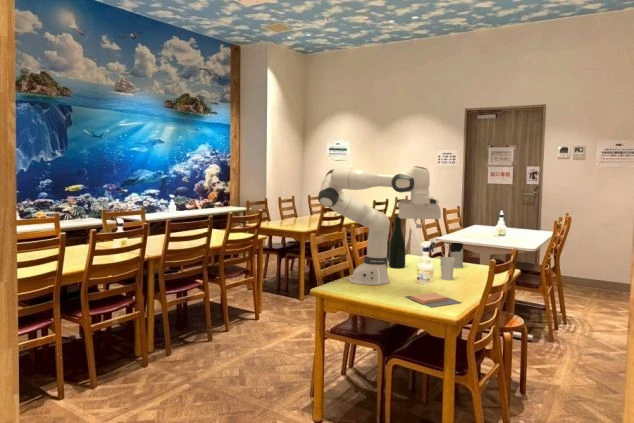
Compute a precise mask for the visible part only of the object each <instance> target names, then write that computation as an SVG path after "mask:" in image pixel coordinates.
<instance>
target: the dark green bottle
mask: <svg viewBox="0 0 634 423" xmlns="http://www.w3.org/2000/svg"><path fill="white" fill-rule="evenodd" d="M398 215H399V214H395V217H394V219H393V220H394V226H393V232H392V234H391V236H390V239H389V243H388V244H389V245H388V246H389V247H388V248H389V249H388V267H389V268H391V269H404V268H405V267H406V239H405V237H404V236H405V235H404V233H403V228H402V220H403V219H401V218H399V216H398Z"/></svg>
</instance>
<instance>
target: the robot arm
mask: <svg viewBox="0 0 634 423" xmlns="http://www.w3.org/2000/svg"><path fill="white" fill-rule="evenodd" d="M430 181H431V180H430V171H429V169H428V168H426V167H423V166H418V165H415V166H412V167H411V168H410V169H408V170H406V171H403V172H399V173H397V174H381V173H375V172H372V171H369V170H365V169H362V168H355V167H341V168H335V169H330V170H329V171H328V172H327V173H326V174H325V177H324V179H323V181H322V183H321V186H320V190H319V192H318V196H317V200H318V202H319V204H320V205H321V206H323V207H325V208H330V209H331V210H333V211H334V212H335V213H337V214H339V215H341V216H342V217H344V218H346V219H348V220H351V221H352V222H355V223H357V224H359V225H361V226H364V227H366V228H368V235H367V243H366V255H363V256H362V263H361V264H359V265H358V266H357V267H355V268H354V269H353V272H352V276H350V277H349V278H348V282H349V283H350V284H354V285H355V284H357V285H368V286H380V285H381V286H382V285H385V284H388V283H390V278H389V273H388V267H389V256H388V240H389V234H390V226H391V220H390V218H389V216H388V215H387V214H385V213H384V212H381V211H379V210H378V209H376V208H373V207H371V206H369V205H367V204H366V203H363V202H361V201H360V200H358V199H355V198H354V197H351V196H349V195H347V194H345V193H344V192H343V190H350V191H358V190H359V191H361V190H366V189H371V188H375V187H381V188H382V187H385V188H392V189H393V191H395V192H398V193H401V194H403V193H410V199H400V200H399V201H398V203H397V207H398V214H397V215H398V216H399V218H401V219H402V220H403V219H406V220H407V219H409V220H410V219H411V220H412V219H413V222H414V223H415V229H423V225H424V224H425V222H426V221H425V220H440V219H441V217H442V213H441V206H440V205H439V203H440V202H439V200H438V199H437V198H434V197H433V196H430V191H429V189H430V185H431V184H430ZM418 220H421V223H418Z"/></svg>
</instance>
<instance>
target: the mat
mask: <svg viewBox="0 0 634 423" xmlns="http://www.w3.org/2000/svg"><path fill="white" fill-rule="evenodd" d="M435 293H436V292H435ZM436 294H439V293H436ZM439 295H442V294H439ZM411 296H412V295H407V296H404V297H405V298H406V297H407V298H406V299H409V300H411V301H413V302H416V303H419V304H422V303H420V302H417V301H415V300H412V299H411ZM442 296H444V295H442ZM446 297H447V296H446ZM458 304H462V301H458V300H456V299H453V298H451V297H447V301H442V302H435V303H428V304H422V305H424V306H426V307H429V308H432V307H433V308H438V307H446V306H451V305H458Z"/></svg>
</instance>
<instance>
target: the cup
mask: <svg viewBox="0 0 634 423" xmlns="http://www.w3.org/2000/svg"><path fill="white" fill-rule="evenodd" d="M454 262H455V258H451V257H450V256H444V257H443V256H442V257H440V271H441V272H440V274H441V275H440V276H441V278H440V279H441V280H443V281H453V280H454V278H453V277H454V269H455V268H454Z"/></svg>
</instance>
